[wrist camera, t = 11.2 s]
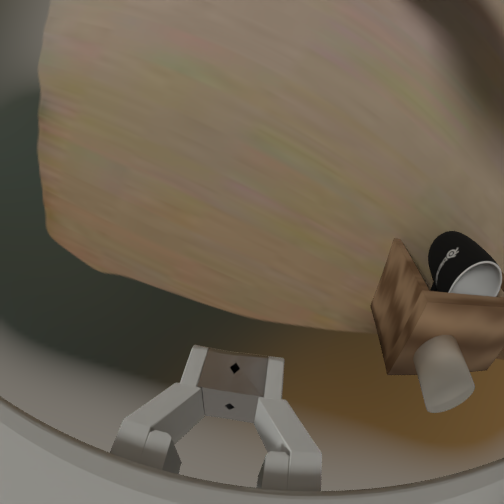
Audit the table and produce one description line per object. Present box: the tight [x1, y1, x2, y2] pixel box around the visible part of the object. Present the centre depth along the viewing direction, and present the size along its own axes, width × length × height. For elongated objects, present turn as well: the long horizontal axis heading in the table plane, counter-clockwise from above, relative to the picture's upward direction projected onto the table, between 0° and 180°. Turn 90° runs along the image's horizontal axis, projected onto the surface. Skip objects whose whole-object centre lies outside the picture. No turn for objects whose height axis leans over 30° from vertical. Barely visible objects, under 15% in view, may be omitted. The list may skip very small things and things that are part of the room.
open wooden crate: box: [371, 238, 504, 375], centre depth 35 cm, size 12×18×14 cm, turn 86°
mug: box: [428, 231, 502, 297], centre depth 34 cm, size 12×9×10 cm
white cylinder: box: [413, 335, 475, 413], centre depth 27 cm, size 6×6×7 cm
